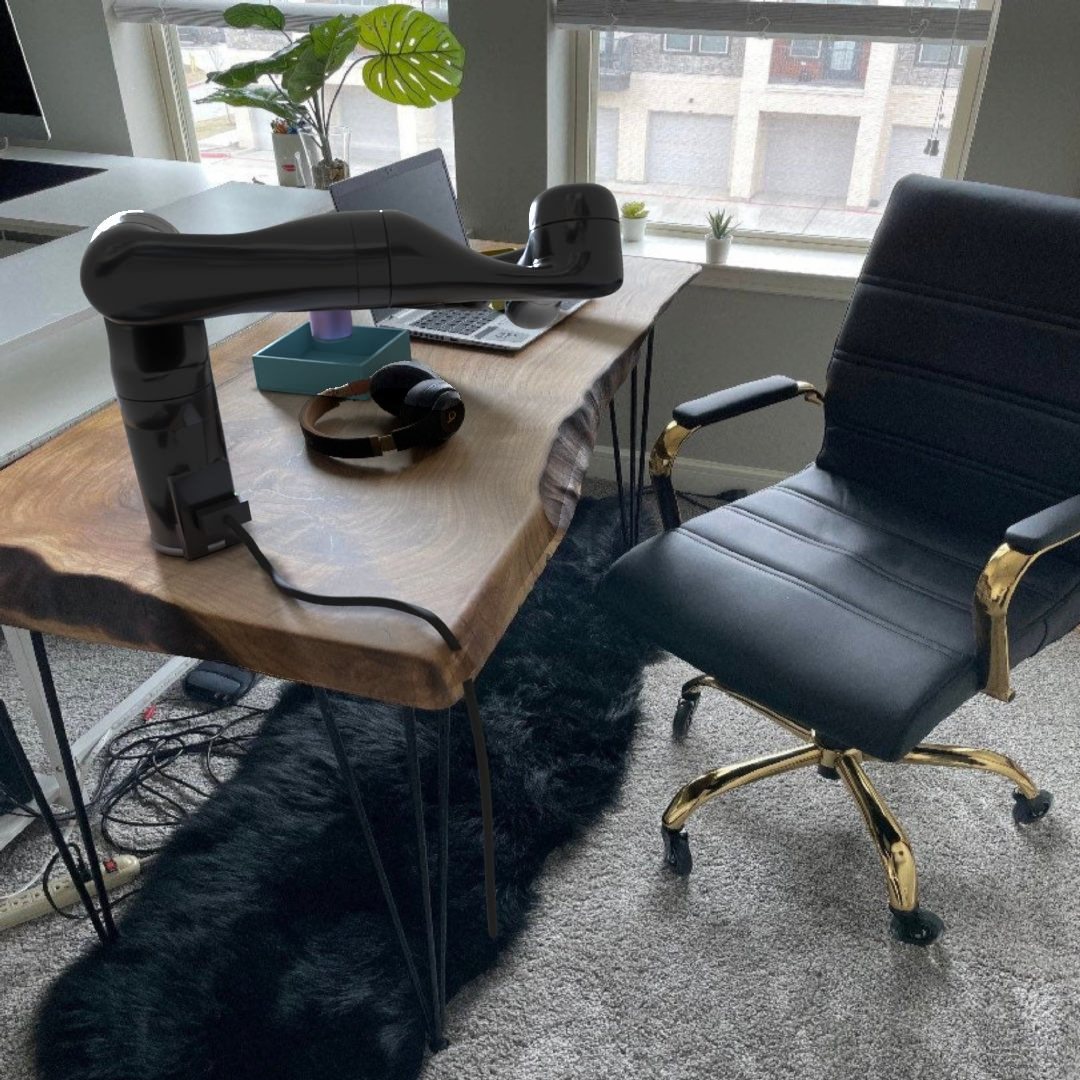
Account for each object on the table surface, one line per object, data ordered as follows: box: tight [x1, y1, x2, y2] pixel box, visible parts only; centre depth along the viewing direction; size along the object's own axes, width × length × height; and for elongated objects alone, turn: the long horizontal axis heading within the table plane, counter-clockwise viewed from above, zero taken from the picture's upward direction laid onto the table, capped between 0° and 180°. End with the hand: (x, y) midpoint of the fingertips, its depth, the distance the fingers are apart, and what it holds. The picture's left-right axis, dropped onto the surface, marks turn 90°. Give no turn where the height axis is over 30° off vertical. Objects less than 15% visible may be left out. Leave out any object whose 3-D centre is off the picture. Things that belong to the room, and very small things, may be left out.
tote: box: [251, 320, 413, 401], centre depth 146 cm, size 17×16×5 cm
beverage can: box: [308, 310, 354, 343], centre depth 141 cm, size 6×6×15 cm
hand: (309, 275), depth 140 cm, fingers closed on beverage can, 5 cm apart
